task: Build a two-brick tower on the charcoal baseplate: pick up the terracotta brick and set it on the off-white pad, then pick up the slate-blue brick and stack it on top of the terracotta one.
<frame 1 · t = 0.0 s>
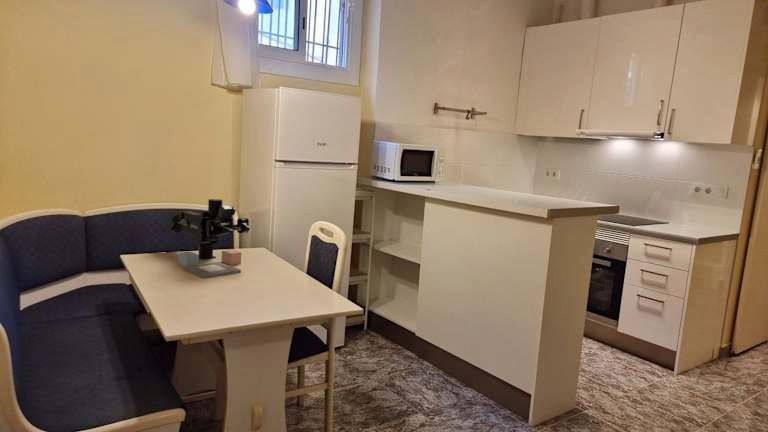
hand: (239, 230, 207), 16 cm above the table, tool horizontal, fingers open, 9 cm apart
baseplate: (211, 270, 204), on the table
brick b: (188, 265, 210), on the table
brick a: (231, 262, 220), on the table
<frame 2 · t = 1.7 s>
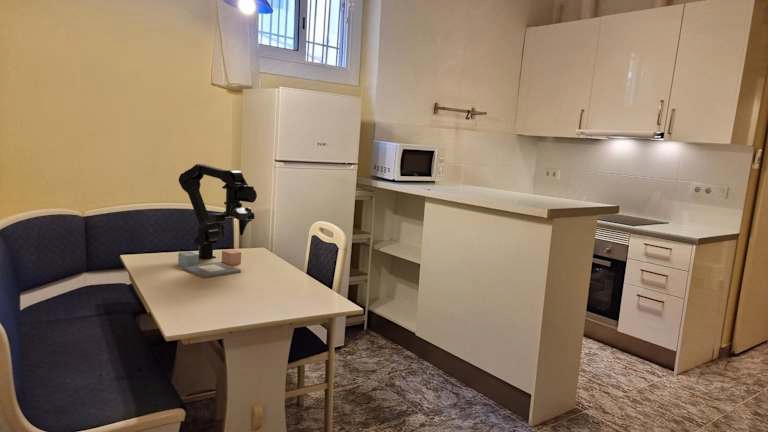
hand: (231, 236, 218), 11 cm above the table, tool pointing down, fingers open, 9 cm apart
nothing on the table moved.
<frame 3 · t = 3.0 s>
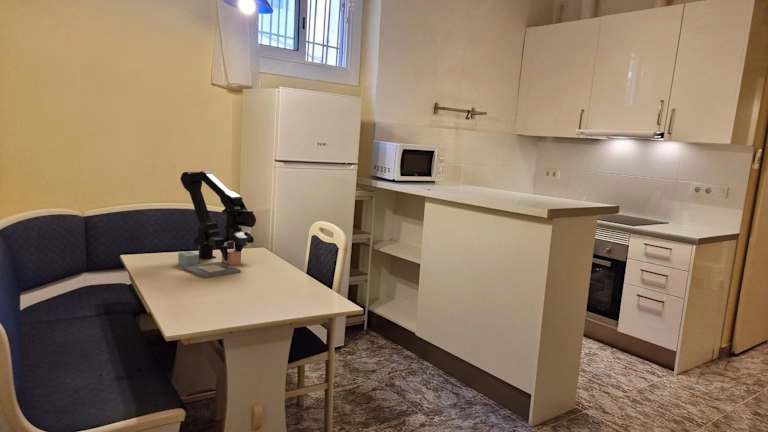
hand: (231, 260, 219), 1 cm above the table, tool pointing down, fingers closed on brick a, 5 cm apart
brick a: (231, 262, 220), on the table, touching gripper
everything else where it was.
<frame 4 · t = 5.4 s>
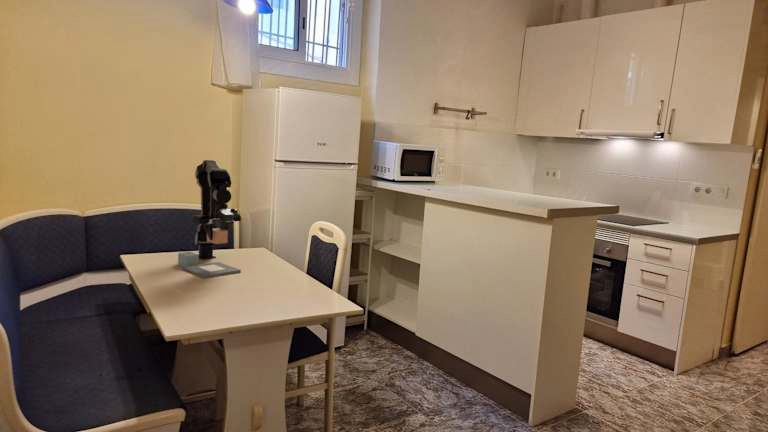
hand: (217, 239, 205), 12 cm above the table, tool pointing down, fingers closed on brick a, 5 cm apart
brick a: (217, 242, 205), point 11 cm above the table, touching gripper
everything else where it was.
when the fingers open (3 cm above the table, at t = 7.7 s): brick a stays where it is, resting on baseplate.
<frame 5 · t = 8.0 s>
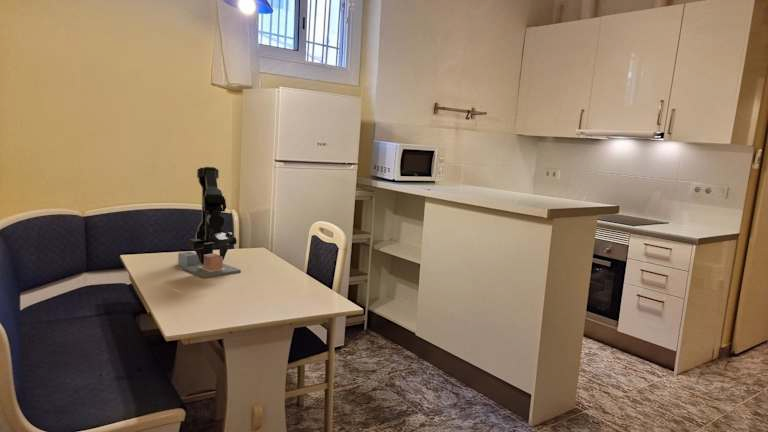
hand: (212, 263, 204), 3 cm above the table, tool pointing down, fingers open, 8 cm apart
brick a: (212, 267, 204), point 1 cm above the table, touching baseplate
everything else where it was.
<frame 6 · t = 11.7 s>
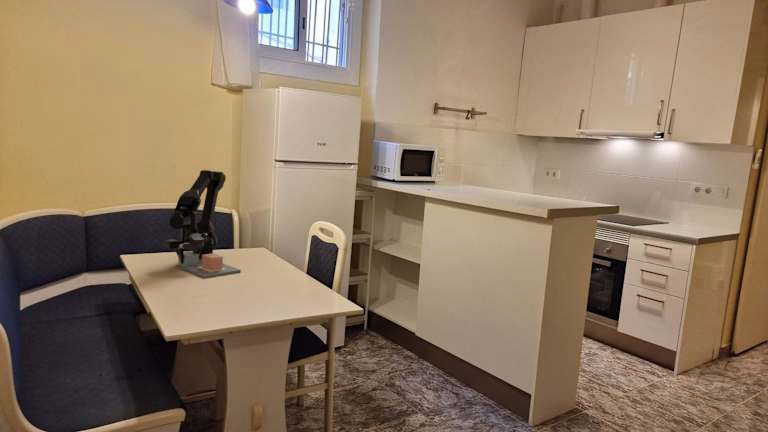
hand: (188, 262, 210), 1 cm above the table, tool pointing down, fingers closed on brick b, 5 cm apart
brick b: (188, 265, 210), on the table, touching gripper
everything else where it was.
when the fingers open (8 cm above the table, at t = 15.0 s): brick b stays where it is, resting on brick a.
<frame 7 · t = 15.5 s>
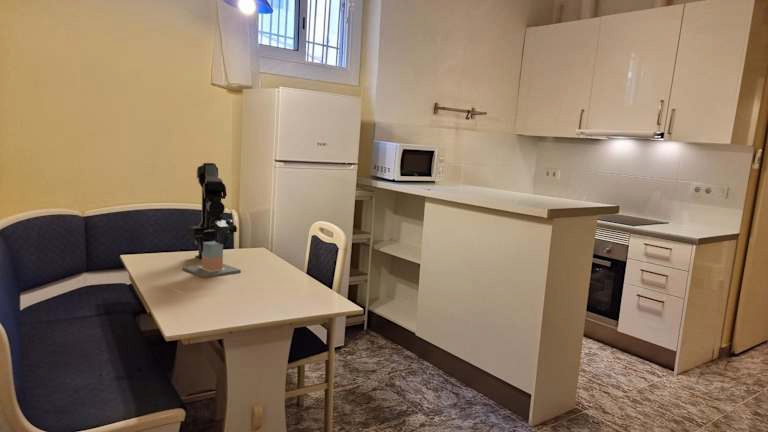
hand: (212, 250, 203), 8 cm above the table, tool pointing down, fingers open, 9 cm apart
brick b: (212, 255, 203), point 6 cm above the table, touching brick a
brick a: (212, 267, 204), point 1 cm above the table, touching baseplate, brick b
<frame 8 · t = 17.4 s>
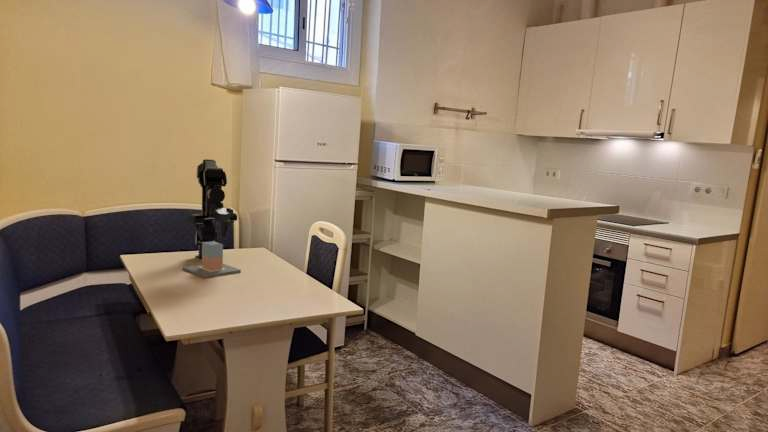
hand: (212, 238, 202), 13 cm above the table, tool pointing down, fingers open, 9 cm apart
nothing on the table moved.
at the end: brick a 0.0 cm off-centre on the baseplate, point 1.2 cm above the baseplate's base; brick b 0.0 cm off-centre on the brick a, point 5.0 cm above the brick a's base; brick b tilted 0° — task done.
